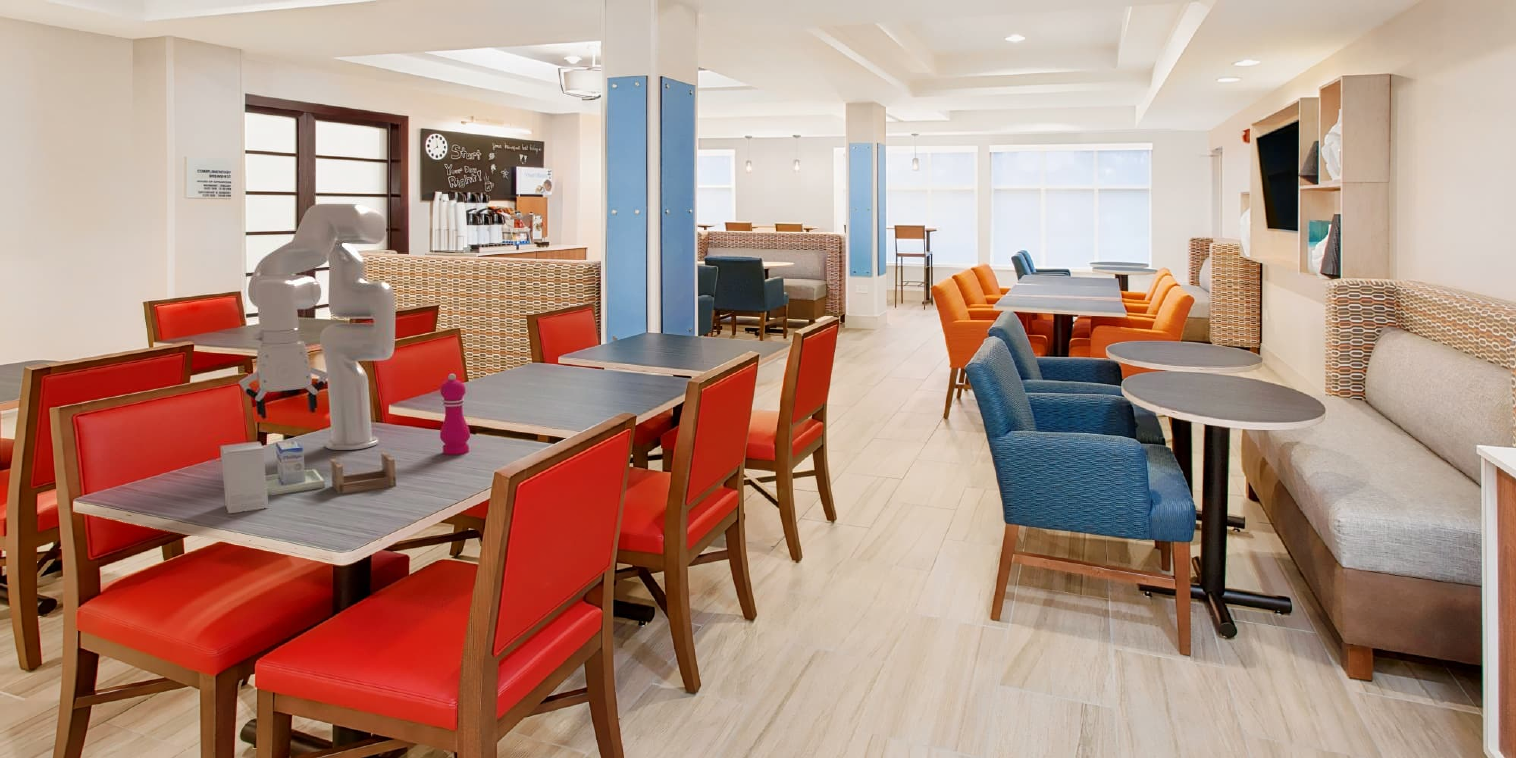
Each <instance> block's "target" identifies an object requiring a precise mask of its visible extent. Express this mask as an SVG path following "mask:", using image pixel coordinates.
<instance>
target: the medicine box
mask: <svg viewBox="0 0 1516 758" xmlns="http://www.w3.org/2000/svg"><path fill="white" fill-rule="evenodd" d="M275 450H276V453H275V454H276V466H277V474H278V480H279V481H280V482H281V484H282V485H283V486H284V485H291V484H298V483H305V482H306V481H305V470H306V469H305V453H304V447H302V445H301V444H300V443H299V442H298V441H297V440H289V441H288V440H287V441H286V440H284V441H279V442H276V443H275Z"/></svg>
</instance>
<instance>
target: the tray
mask: <svg viewBox="0 0 1516 758" xmlns="http://www.w3.org/2000/svg"><path fill="white" fill-rule="evenodd" d="M305 481H306V482H305V483H298V484H291V485H284V486H283V485H282V484H281V482H280V481H279V480H278V473H277V474H269V475H266V483H267V494H268V497H270V496H276V495H282V494H289V493H296V492H302V491H310V490H317V489H324V488H326V484H325V480H324V478H323V477H322V476H321V475H320V474H319V472H318V471H317V470H316V468H314V469H307V470H306V469H305ZM269 495H270V496H269Z"/></svg>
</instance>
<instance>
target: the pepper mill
mask: <svg viewBox="0 0 1516 758" xmlns="http://www.w3.org/2000/svg"><path fill="white" fill-rule="evenodd" d="M456 378H457V377H456V374H455V373H450V374H449V375H448V380H446V381H444V382H442V384H441V385H440V388H439V392H440V395H441V397H442V398H443V400H442V402H443V404H442V406H444V411H445V413H444V415H445V416H444V419H443V424H442V425H441V428H440V431H439V432H440V433H439V438H440V440H441V442H443V443H444V444H443V445H442V452H443V453H442V454H444V455H449V456H451V455H452V456H457V455H463V454H467V453H469V451H470V445H469V443H467V442H468V440H469V439H470V438H471V432H470V431H471V430H470V428H469V425H468V423H467V422H466V420H465V416H464V413H463V411H464V410H463V405H464V404H465V402H464V400H465V399H464V398H463V397H464V396H465V394H466V386H465V384H464V383H463V382H462V381H461V380H458V379H456Z"/></svg>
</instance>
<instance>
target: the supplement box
mask: <svg viewBox="0 0 1516 758" xmlns="http://www.w3.org/2000/svg"><path fill="white" fill-rule="evenodd" d="M220 458H221V459H220V461H221V467H222V468H221V471H222V480H223V489H224V490H223V492H224V499H225V507H226V509H227V513H228V514H234V513H243V511H244V512H248V511H249V512H250V511H257V510H263V509H264V508H265V509H268V508H269V498H268V497H269V496H268V494H267V483H266V476H267V475H266V464H265V451H264V447H263V445H262V443H261V441H251V442H241V443H235V444H226V445H220Z"/></svg>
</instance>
